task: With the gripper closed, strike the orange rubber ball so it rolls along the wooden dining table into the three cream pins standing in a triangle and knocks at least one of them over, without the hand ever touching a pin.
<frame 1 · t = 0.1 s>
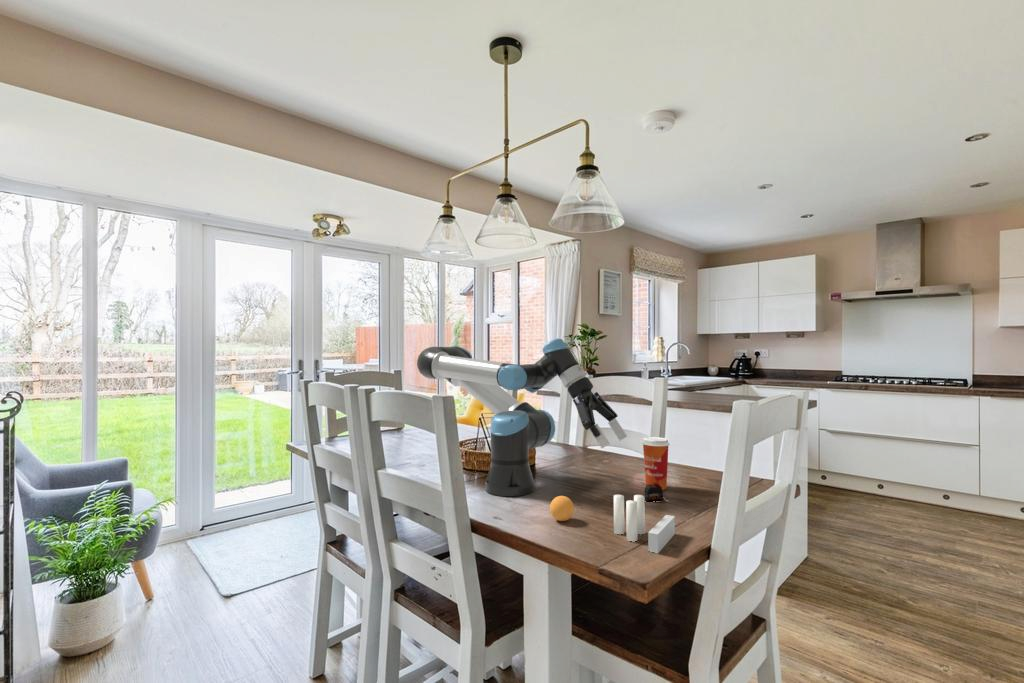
hand: (615, 442, 142), 15 cm above the table, tool tilted 35°, fingers open, 13 cm apart
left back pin: (639, 533, 111), on the table
ball: (561, 508, 120), on the table
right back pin: (632, 540, 107), on the table
front pin: (619, 532, 111), on the table
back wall: (662, 542, 106), on the table
dark piece: (653, 502, 136), on the table
coffee cup: (656, 488, 148), on the table
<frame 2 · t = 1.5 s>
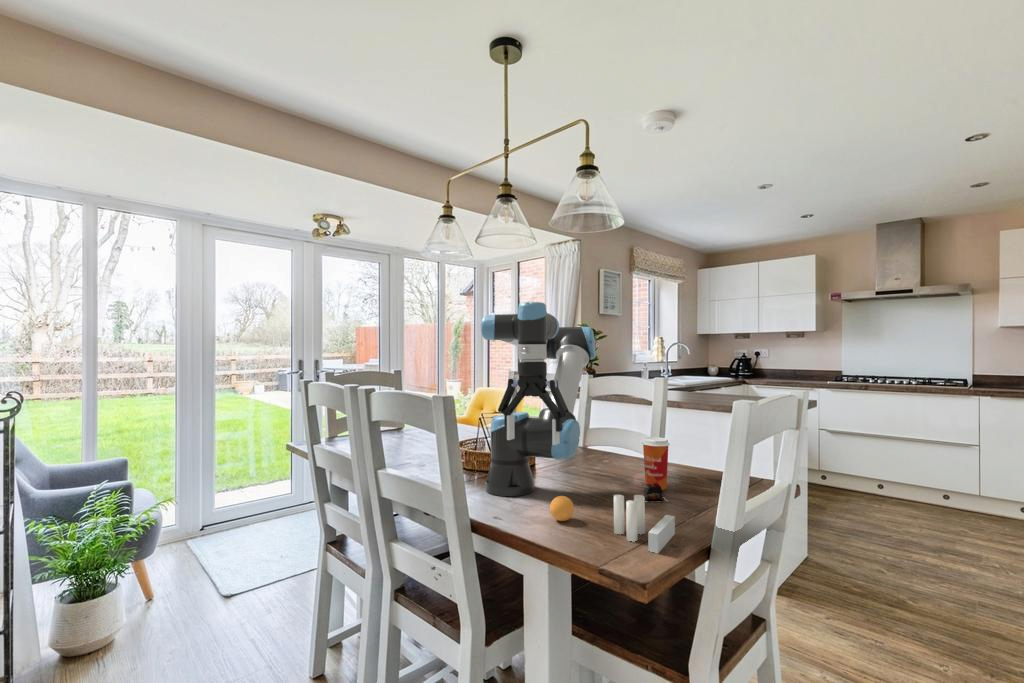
hand: (532, 441, 126), 19 cm above the table, tool pointing down, fingers open, 13 cm apart
nothing on the table moved.
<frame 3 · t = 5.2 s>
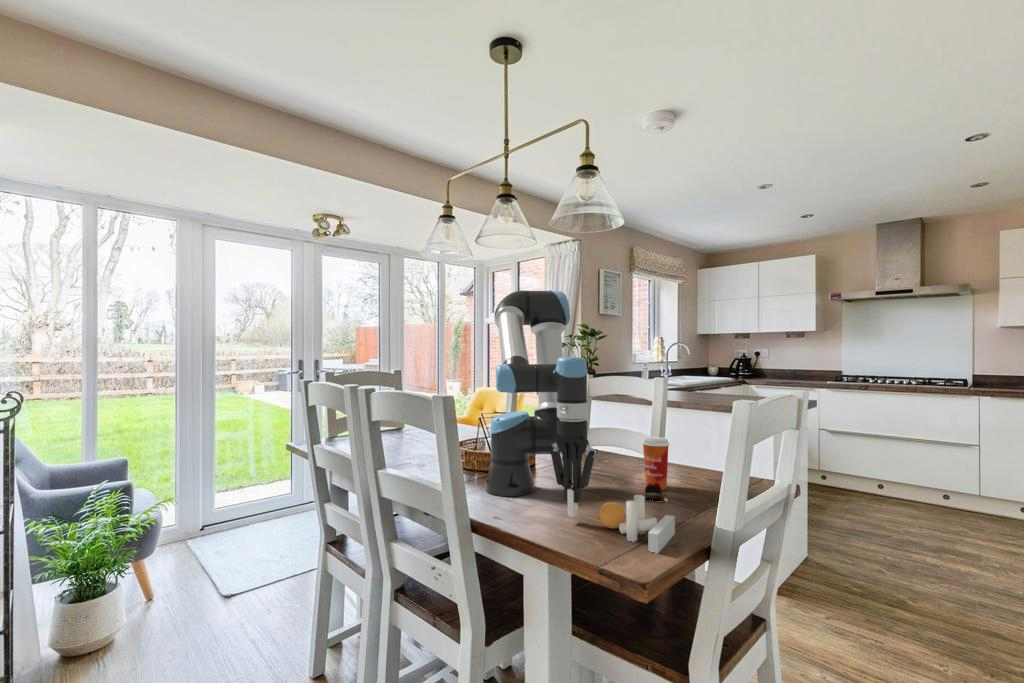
hand: (572, 514, 118), 2 cm above the table, tool pointing down, fingers closed
ball: (612, 515, 115), on the table
front pin: (621, 528, 111), point 1 cm above the table, tilted 72°, touching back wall
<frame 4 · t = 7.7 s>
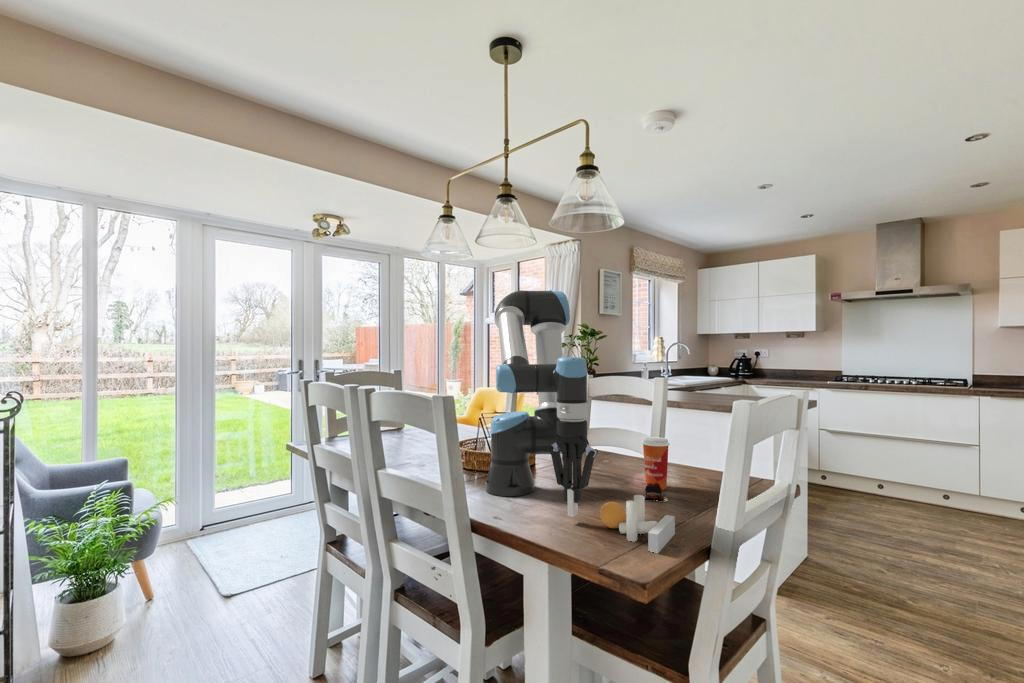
hand: (572, 514, 118), 2 cm above the table, tool pointing down, fingers closed
front pin: (620, 528, 111), point 1 cm above the table, tilted 77°, touching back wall
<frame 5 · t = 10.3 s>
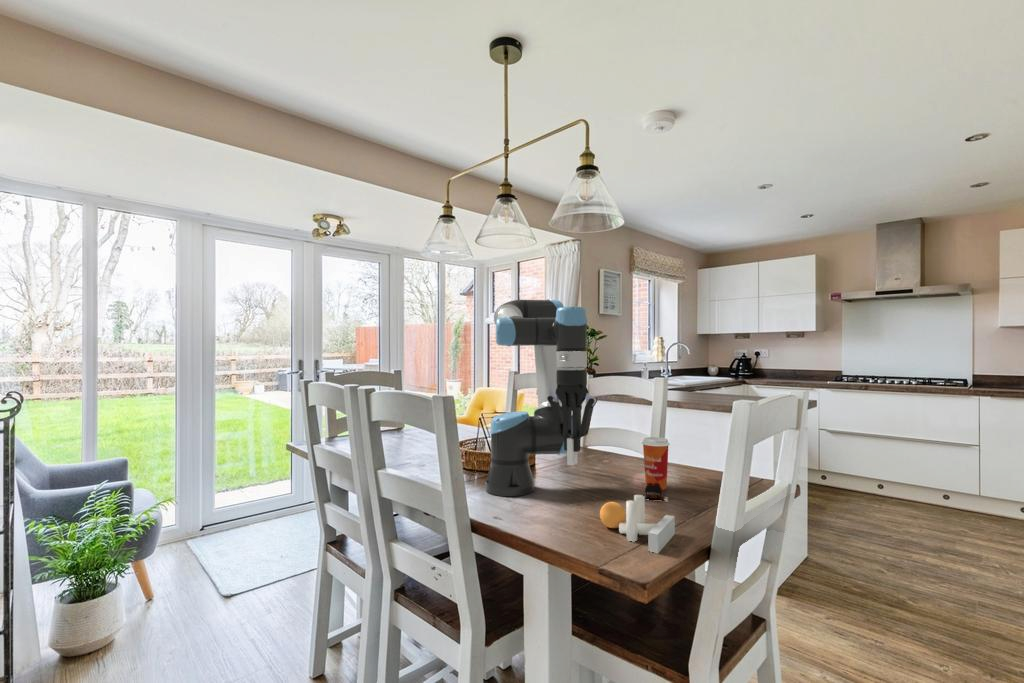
hand: (572, 464, 118), 14 cm above the table, tool pointing down, fingers closed
at the end: 1 of 3 knocked over (down: front pin; still standing: left back pin, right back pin); front pin never touched the robot; ball moved 12.7 cm from its start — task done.
